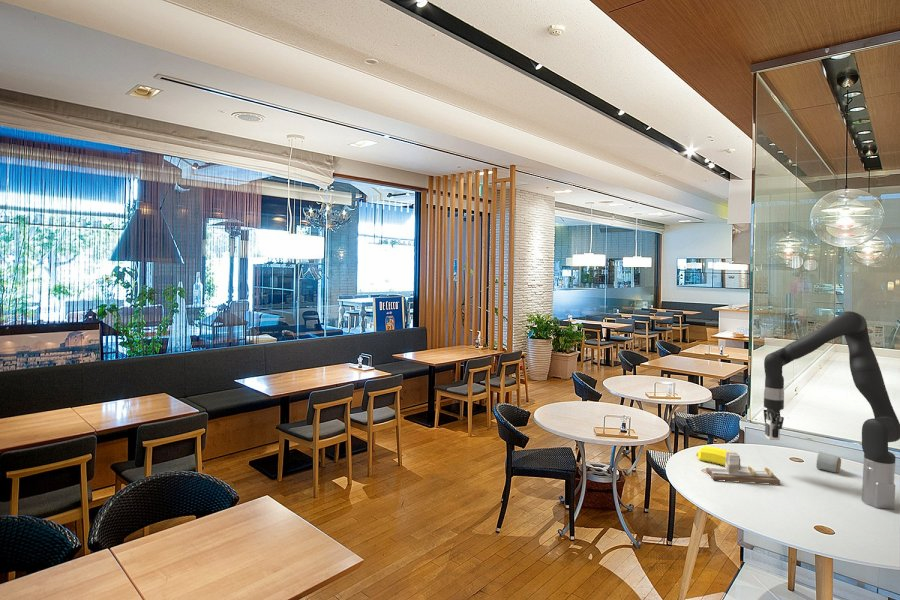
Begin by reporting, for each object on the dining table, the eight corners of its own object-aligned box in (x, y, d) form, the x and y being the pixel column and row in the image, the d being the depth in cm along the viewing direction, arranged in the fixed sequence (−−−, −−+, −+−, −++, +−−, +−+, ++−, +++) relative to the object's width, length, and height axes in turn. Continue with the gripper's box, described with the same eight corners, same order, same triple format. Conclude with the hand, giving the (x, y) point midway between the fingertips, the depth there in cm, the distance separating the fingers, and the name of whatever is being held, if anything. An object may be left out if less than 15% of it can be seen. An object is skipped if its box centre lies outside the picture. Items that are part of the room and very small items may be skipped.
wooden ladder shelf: (779, 484, 214) (780, 459, 213) (713, 480, 218) (714, 456, 217) (769, 476, 223) (770, 452, 222) (706, 472, 227) (706, 448, 226)
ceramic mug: (838, 475, 224) (839, 458, 224) (815, 470, 230) (816, 453, 230) (842, 469, 232) (843, 452, 231) (820, 464, 237) (821, 448, 237)
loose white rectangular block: (779, 440, 224) (780, 422, 224) (768, 439, 225) (769, 421, 225) (775, 437, 228) (775, 419, 228) (764, 436, 229) (764, 419, 229)
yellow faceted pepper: (698, 455, 248) (693, 460, 242) (699, 442, 247) (694, 446, 242) (740, 465, 235) (735, 470, 230) (740, 451, 235) (736, 455, 229)
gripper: (791, 401, 218) (790, 441, 219) (775, 394, 232) (774, 431, 233) (772, 401, 219) (771, 440, 220) (757, 393, 233) (756, 430, 234)
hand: (772, 435), depth 227 cm, fingers closed on loose white rectangular block, 4 cm apart
